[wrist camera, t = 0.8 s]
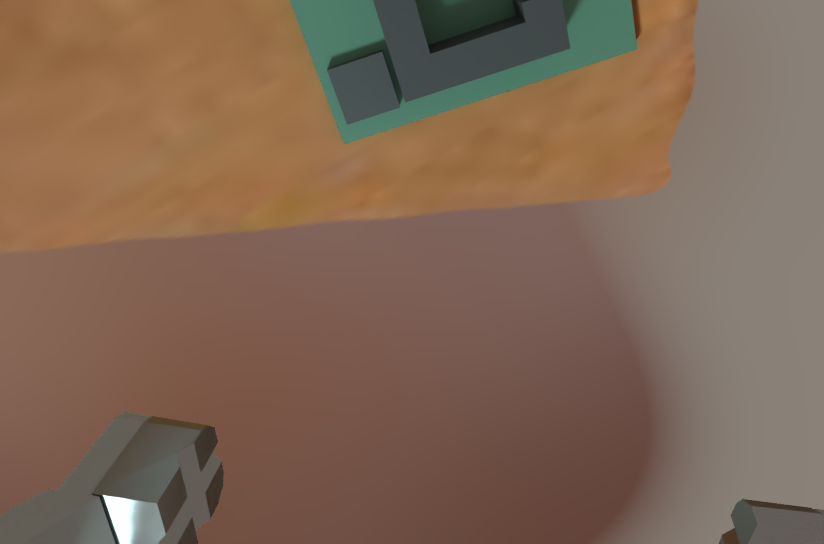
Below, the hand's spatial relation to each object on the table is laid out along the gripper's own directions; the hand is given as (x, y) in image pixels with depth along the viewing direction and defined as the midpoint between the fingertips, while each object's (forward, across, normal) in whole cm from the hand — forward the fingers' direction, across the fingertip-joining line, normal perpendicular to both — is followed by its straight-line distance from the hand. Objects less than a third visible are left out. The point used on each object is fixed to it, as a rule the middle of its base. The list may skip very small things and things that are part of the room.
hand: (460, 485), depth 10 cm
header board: (+40, +4, -3) cm, 40 cm away
